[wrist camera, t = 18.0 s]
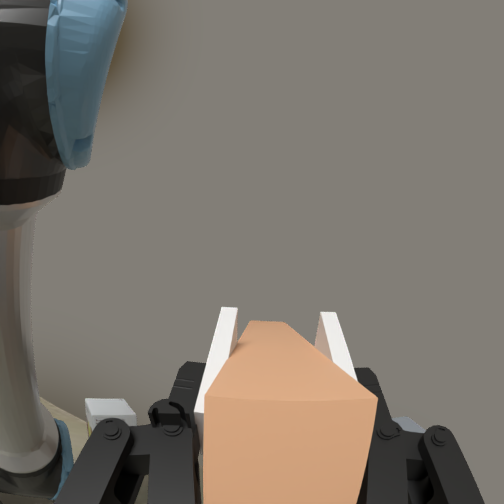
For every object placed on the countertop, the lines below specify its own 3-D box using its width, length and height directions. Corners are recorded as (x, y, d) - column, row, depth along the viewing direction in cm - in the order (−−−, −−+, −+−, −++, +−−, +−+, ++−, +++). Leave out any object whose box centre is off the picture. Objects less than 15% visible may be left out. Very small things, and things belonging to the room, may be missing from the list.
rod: (351, 520, 5) (378, 397, 6) (204, 520, 6) (204, 395, 6) (282, 354, 35) (284, 321, 36) (248, 353, 35) (250, 320, 36)
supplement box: (90, 462, 48) (83, 397, 51) (128, 460, 54) (124, 397, 56) (100, 484, 41) (90, 414, 43) (142, 481, 46) (137, 413, 49)
